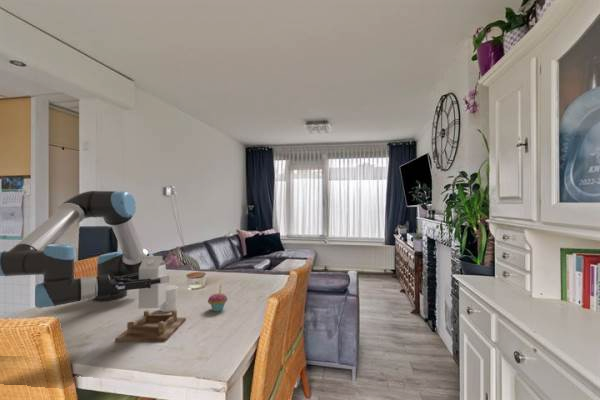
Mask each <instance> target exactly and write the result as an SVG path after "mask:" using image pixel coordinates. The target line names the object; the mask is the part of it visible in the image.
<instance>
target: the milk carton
mask: <svg viewBox="0 0 600 400" xmlns="http://www.w3.org/2000/svg"><path fill="white" fill-rule="evenodd" d="M166 266H167V265H166V263H165V261H164V259H163V255H156V256H155V255H154V256H143V261H142V263H141V265H140V267H139V279H150V278H153V277H159V276H165V275H167V274H166V273H167V272H166V271H167V270H166V269H167V267H166ZM166 286H167V283H163V284H157V285H152V286H151V288H141V289H138V309H158V308H160V306H161V305H162V304H163V303H164V302H165V301H166Z"/></svg>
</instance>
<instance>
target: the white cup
mask: <svg viewBox="0 0 600 400" xmlns="http://www.w3.org/2000/svg"><path fill="white" fill-rule="evenodd" d="M178 287H179V286H178V285H173V284H172V285H166V301H165V302H164V303H163V304H162V305H161V306H160V307H159V309H160V312H163V313H166V312H168V313H169V312H172V311H173V310H176V309H177V304H178V293H179V292H178V290H179V289H178Z"/></svg>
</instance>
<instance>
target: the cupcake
mask: <svg viewBox="0 0 600 400" xmlns="http://www.w3.org/2000/svg"><path fill="white" fill-rule="evenodd" d="M227 300H228V297H227V296H226V295H225V294H224V293H222V284H220V286H219V292H218V293H213V294H211V295H210V296H209V297H208V299H207V303H208V304H209V305H210V307H211V309H212V312H213V311H214V312H220V311H223V310H224V308H225V305H226V303H227Z"/></svg>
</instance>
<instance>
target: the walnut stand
mask: <svg viewBox="0 0 600 400" xmlns="http://www.w3.org/2000/svg"><path fill="white" fill-rule="evenodd" d="M186 318H187V317H185V316H184V317H178V310H176V309H175V310H173V311H171V313H166V314H164V313H163V314H162V313H161V314H160V313H158V314H155V313H154V314H153V313H152V314H150V310H144V311H143V316H142V317H140V318H139V319H138V320H136V321H135V322H134V321H129V322H127V323H126V325H127V326H126V329H125V330H124V331H123V332H121V333H120V334H119V335H117V336H116V337H115V338H114V340H115V341H114V342H115V343H116V342H119V343H120V342H124V343H125V342H126V343H127V342H167V341H168V340H170V338H171V336H173V335H174V333H176V331H178V329H180V327H182V325H183V324H184V323H185V322H186V320H187V319H186Z"/></svg>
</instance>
